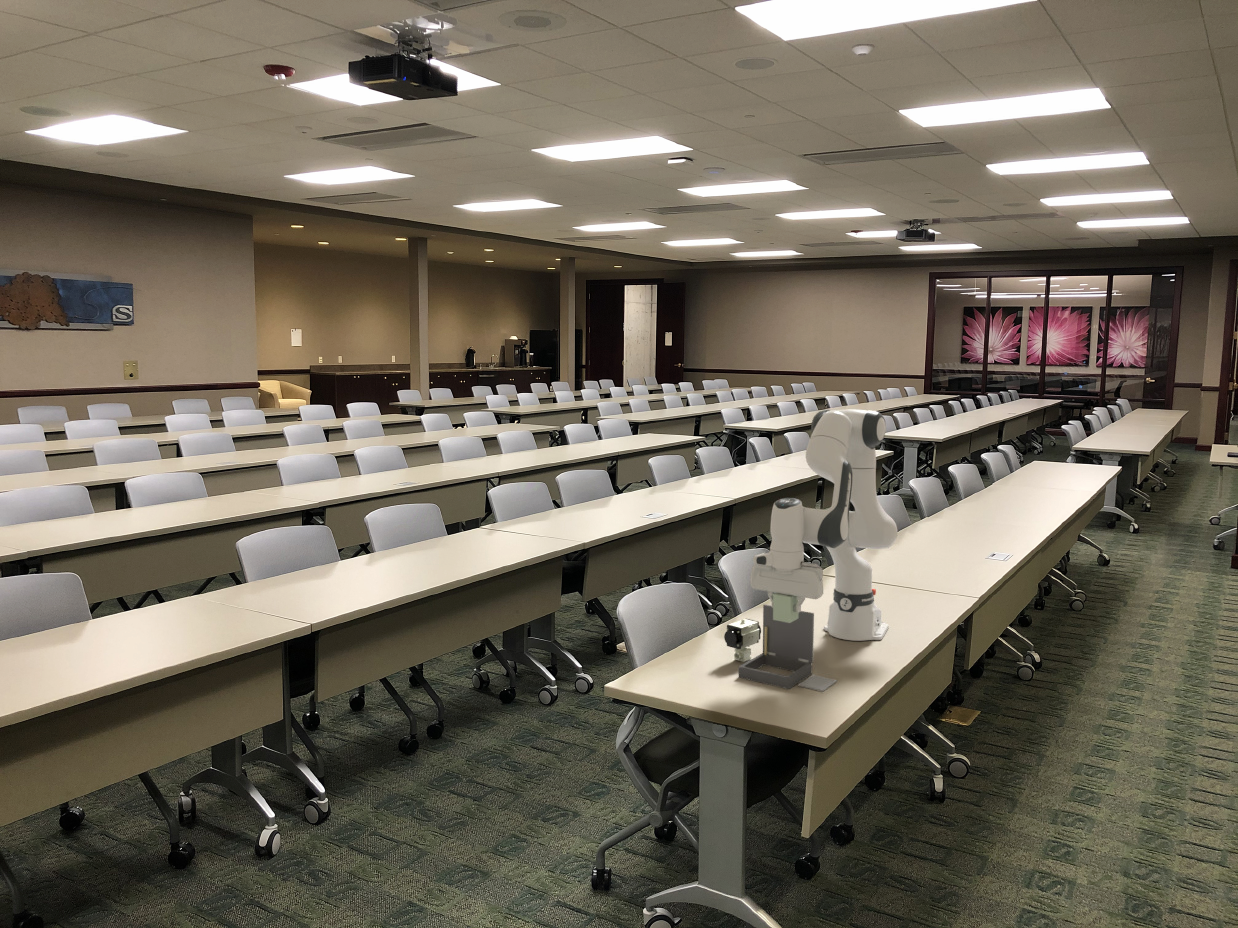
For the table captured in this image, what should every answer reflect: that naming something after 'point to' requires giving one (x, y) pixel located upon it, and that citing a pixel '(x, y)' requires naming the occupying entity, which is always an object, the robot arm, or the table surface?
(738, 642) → the pneumatic valve
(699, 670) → the table surface
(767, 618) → the case
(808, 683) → the pad
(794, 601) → the block
